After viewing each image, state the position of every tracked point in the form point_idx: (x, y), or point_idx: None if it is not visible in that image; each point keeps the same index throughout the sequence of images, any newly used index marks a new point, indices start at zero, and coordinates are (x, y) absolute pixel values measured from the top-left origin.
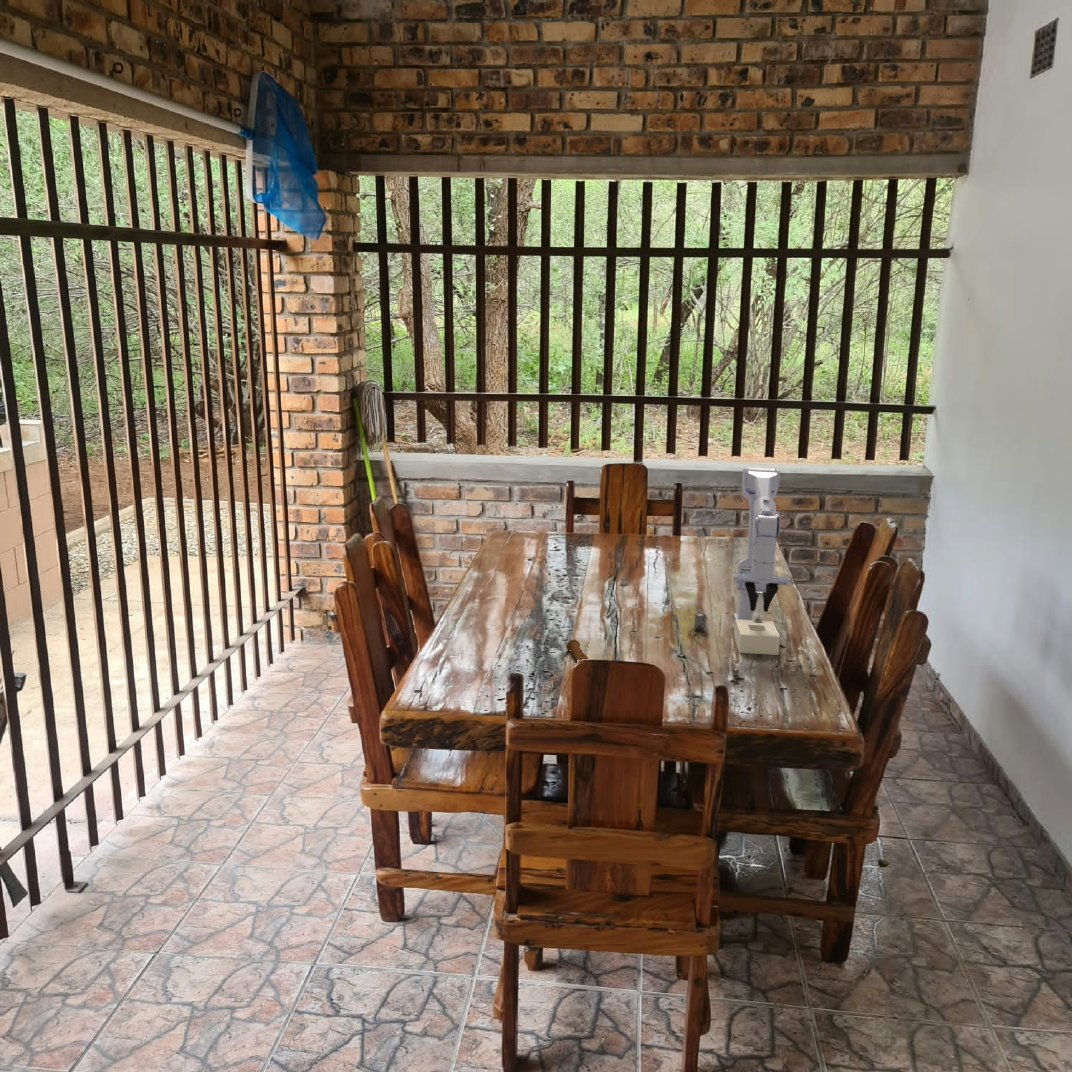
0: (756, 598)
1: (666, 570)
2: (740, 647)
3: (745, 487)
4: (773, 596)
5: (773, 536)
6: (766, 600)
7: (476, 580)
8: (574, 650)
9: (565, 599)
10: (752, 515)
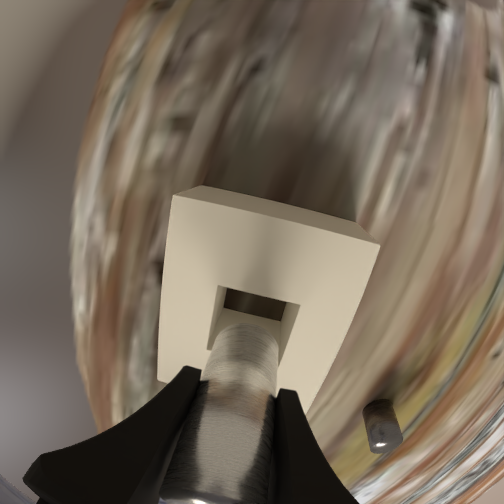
0: (262, 464)
1: None
2: (359, 226)
3: None
4: (101, 434)
5: None
6: (172, 436)
7: (501, 478)
8: None
9: (477, 470)
10: None
